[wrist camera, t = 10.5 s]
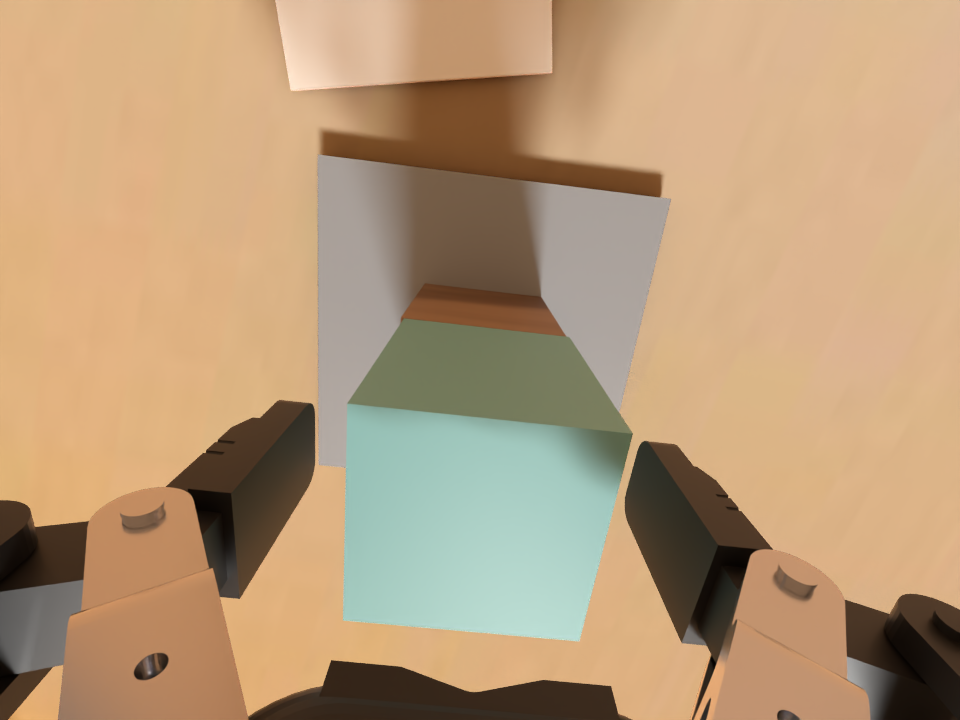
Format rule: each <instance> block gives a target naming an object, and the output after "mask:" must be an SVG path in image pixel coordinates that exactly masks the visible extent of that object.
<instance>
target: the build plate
mask: <svg viewBox="0 0 960 720" xmlns="http://www.w3.org/2000/svg"><path fill="white" fill-rule="evenodd" d="M670 201H671V199H667V198H659V197H651V196H643V195H635V194H628V193H620V192H612V191H604V190H596V189H588V188H580V187H572V186H564V185H556V184H548V183H540V182H532V181H524V180H516V179H509V178H501V177H493V176H485V175H477V174H469V173H461V172H453V171H445V170H437V169H429V168H421V167H413V166H405V165H397V164H389V163H382V162H374V161H366V160H358V159H350V158H342V157H334V156H326V155H318V386H319V465H324V466H334V467H344V468H346V441H347V403H348V402H349V400H350V399H351V397H352V396H353V394H354V393H355V391H356V390H357V388H358V387H359V385H360V384H361V382H362V381H363V379H364V378H365V376H366V375H367V373H368V372H369V370H370V369H371V367H372V366H373V364H374V363H375V361H376V360H377V358H378V357H379V355H380V354H381V352H382V351H383V349H384V348H385V346H386V345H387V343H388V342H389V340H390V339H391V337H392V336H393V334H394V333H395V331H396V330H397V328H398V327H399V325H400V323H401V317H402V315H403V314H404V312H405V311H406V309H407V308H408V307H409V305H410V304H411V302H412V301H413V300H414V298H415V297H416V295H417V294H418V292H419V291H420V290H421V288H422V287H423V285H424V284H425V283H426V284H435V285H444V286H452V287H461V288H469V289H478V290H486V291H495V292H503V293H512V294H521V295H529V296H538V297H542V299H543V300H544V302H545V304H546V305H547V307H548V308H549V310H550V311H551V313H552V315H553V316H554V318H555V319H556V321H557V323H558V324H559V326H560V327H561V329H562V330H563V332H564V334H565V335H566V337H570V339H571V340H572V342H573V343H574V345H575V346H576V348H577V349H578V351H579V352H580V354H581V355H582V357H583V358H584V360H585V361H586V363H587V365H588V366H589V368H590V369H591V371H592V372H593V374H594V375H595V377H596V378H597V380H598V381H599V383H600V384H601V386H602V387H603V389H604V391H605V392H606V394H607V395H608V397H609V398H610V400H611V401H612V403H613V404H614V406H615V407H616V409H617V410H618V412H619V411H620V407H621V403H622V399H623V395H624V390H625V386H626V382H627V378H628V374H629V370H630V366H631V362H632V358H633V353H634V349H635V345H636V341H637V337H638V333H639V329H640V325H641V321H642V316H643V312H644V308H645V304H646V300H647V296H648V292H649V288H650V284H651V279H652V275H653V271H654V267H655V263H656V259H657V255H658V251H659V247H660V242H661V238H662V234H663V230H664V226H665V222H666V218H667V214H668V210H669V205H670Z"/></svg>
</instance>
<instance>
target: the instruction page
mask: <svg viewBox="0 0 960 720" xmlns="http://www.w3.org/2000/svg"><path fill="white" fill-rule="evenodd" d="M275 2H276V8H277V14H278V19H279V25H280V31H281V37H282V42H283V48H284V54H285V60H286V66H287V71H288V77H289V83H290V89H291V90H292V91H299V90H314V89H328V88H343V87H358V86H373V85H387V84H402V83H417V82H431V81H446V80H461V79H475V78H490V77H505V76H520V75H534V74H549V73H552V0H275Z"/></svg>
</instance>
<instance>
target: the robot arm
mask: <svg viewBox="0 0 960 720" xmlns="http://www.w3.org/2000/svg"><path fill="white" fill-rule="evenodd" d="M314 466H315V411H314V407H313V405H312V404H311V403H302V402H293V401H284V400H279V401H277V402H276V403H275V404H274V405H273V406H272V407H271V408H270V409H269V410H268V411H267V412H266V413H265V414H264V415H263V416H262V417H261V418H251V419H249V420H246V421H244V422H242V423H240V424H238V425H236V426H233V427H232V428H230V429H229V430H228V431H227V432H226V433H225V434H224V435H223V436H222V437H220V438H219V439H218V442H215V443H214V444H213V445H212V446H210V447H209V448H208V449H207V450H206V453H203V454H202V455H200V456H199V457H198V458H197V459H196V460H195V461H194V462H193V463H192V464H191V465H189V466H188V467H187V468H186V469H185V470H184V471H183V472H182V473H181V474H179V475H178V476H177V477H176V478H175V479H174V480H173V481H172V482H171V483H169V484H168V485H167V486H166V487H157V488H149V489H143V490H139V491H136V492H132V493H129V494H126V495H124V496H121V497H119V498H117V499H115V500H113V501H111V502H109V503H108V504H106V505H105V506H103V507H102V508H101V509H99V510H98V511H97V512H96V513H95V514H94V515H93V516H92V518H91V519H90V521H87V522H78V523H69V524H60V525H50V526H41V527H35V526H34V522H33V518H32V515H31V511H30V508H29V507H28V506H27V505H25V504H23V503H20V502H17V501H8V500H0V720H8V719H9V718H10V717H11V715H12V714H13V713H14V712H15V711H16V710H17V708H18V707H19V706H20V705H21V704H22V703H23V701H24V700H25V699H26V698H27V697H28V696H29V694H30V693H31V692H32V691H33V690H34V689H35V687H36V686H37V685H38V684H39V683H40V682H41V680H42V679H43V678H44V677H45V676H46V674H47V673H48V672H49V671H50V670H51V669H52V667H54V666H59V665H63V675H62V685H61V695H60V705H59V715H58V720H631V719H629V718H627V717H625V716H623V715H620V714H618V711H617V708H616V704H615V700H614V696H613V692H612V688H611V686H602V685H592V684H581V683H570V682H559V681H548V680H541V681H535V682H530V683H525V684H519V685H514V686H509V687H503V688H498V689H493V690H487V691H482V692H468V691H464V690H462V689H459V688H456V687H454V686H451V685H448V684H446V683H443V682H440V681H438V680H435V679H432V678H430V677H427V676H424V675H422V674H419V673H416V672H414V671H411V670H408V669H405V668H403V667H397V666H386V665H376V664H365V663H354V662H343V661H332V660H331V663H330V666H329V669H328V672H327V675H326V678H325V681H324V684H323V686H321V687H316V688H311V689H307V690H304V691H301V692H297V693H294V694H291V695H289V696H287V697H284V698H282V699H280V700H277V701H275V702H273V703H271V704H269V705H267V706H266V707H264V708H262V709H260V710H258V711H256V712H255V713H253V714H252V715H250V716H249V717H248V715H247V711H246V706H245V702H244V698H243V694H242V689H241V685H240V681H239V677H238V672H237V668H236V664H235V660H234V655H233V651H232V647H231V643H230V638H229V634H228V630H227V626H226V621H225V617H224V613H223V609H222V604H221V600H220V597H227V598H238V599H240V597H241V596H242V594H243V593H244V591H245V589H246V588H247V586H248V584H249V583H250V581H251V580H252V578H253V576H254V575H255V573H256V571H257V570H258V568H259V566H260V565H261V563H262V562H263V560H264V558H265V557H266V555H267V553H268V552H269V550H270V549H271V547H272V545H273V544H274V542H275V540H276V539H277V537H278V535H279V534H280V532H281V531H282V529H283V527H284V526H285V524H286V522H287V521H288V519H289V518H290V516H291V514H292V513H293V511H294V509H295V508H296V506H297V504H298V503H299V501H300V500H301V498H302V496H303V495H304V493H305V491H306V490H307V488H308V486H309V484H310V482H311V479H312V476H313V472H314ZM625 514H626V518H627V521H628V524H629V526H630V528H631V530H632V533H633V535H634V537H635V539H636V542H637V544H638V546H639V548H640V551H641V553H642V555H643V557H644V560H645V562H646V564H647V566H648V568H649V571H650V573H651V575H652V577H653V580H654V582H655V584H656V586H657V589H658V591H659V593H660V595H661V598H662V600H663V602H664V604H665V607H666V609H667V611H668V613H669V616H670V618H671V620H672V622H673V624H674V627H675V629H676V631H677V633H678V636H679V638H680V640H681V642H682V643H686V644H697V645H707V647H708V649H709V651H710V653H711V655H710V657H709V660H708V662H707V664H706V667H705V670H704V674H703V677H702V680H701V683H700V687H699V690H698V693H697V697H696V700H695V703H694V706H693V710H692V713H691V716H690V720H960V610H959V609H957V608H955V607H953V606H951V605H949V604H946V603H944V602H942V601H939V600H936V599H934V598H930V597H927V596H923V595H918V594H905V595H902V596H901V597H900V598H899V599H898V601H897V602H896V604H895V606H894V608H893V609H892V611H891V613H890V614H887V613H884V612H881V611H878V610H875V609H872V608H869V607H866V606H863V605H860V604H857V603H853V602H850V601H847V600H844V597H843V595H842V593H841V591H840V590H839V588H838V587H837V586H836V585H835V584H834V582H833V581H832V580H831V579H829V578H828V577H827V576H826V575H825V574H824V573H822V572H821V571H820V570H818V569H817V568H815V567H814V566H812V565H811V564H809V563H807V562H806V561H804V560H802V559H800V558H798V557H795V556H793V555H790V554H787V553H784V552H781V551H777V550H773V549H772V548H771V547H770V545H769V544H768V543H767V542H766V541H765V539H764V538H763V537H762V536H761V534H760V533H759V532H758V531H757V530H756V528H755V527H754V526H753V525H752V524H751V522H750V521H749V520H748V519H747V518H746V516H745V515H744V514H743V513H742V512H741V511H739V510H738V507H737V505H736V504H735V503H734V502H733V501H732V499H731V498H728V495H727V493H726V492H725V491H724V490H723V489H722V487H721V486H720V485H719V484H718V482H717V481H716V480H714V479H713V478H712V477H710V476H709V475H707V474H706V473H705V472H703V471H702V470H701V469H699V468H698V467H694V466H693V465H692V464H691V462H690V461H689V460H688V459H687V457H686V456H685V455H684V453H683V452H682V451H681V450H680V448H679V447H678V446H677V445H675V444H667V443H658V442H649V441H644V442H642V443H641V444H640V446H639V448H638V451H637V455H636V459H635V462H634V466H633V470H632V474H631V477H630V481H629V485H628V488H627V492H626V496H625Z"/></svg>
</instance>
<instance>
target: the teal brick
mask: <svg viewBox="0 0 960 720" xmlns="http://www.w3.org/2000/svg"><path fill="white" fill-rule="evenodd" d="M632 435H633V433H632V432H631V430H630V429H629V427H628V426H627V424H626V423H625V421H624V420H623V418H622V417H621V415H620V413H619V412H618V410H617V409H616V407H615V406H614V404H613V403H612V401H611V400H610V398H609V397H608V395H607V394H606V392H605V391H604V389H603V387H602V386H601V384H600V383H599V381H598V380H597V378H596V377H595V375H594V374H593V372H592V371H591V369H590V368H589V366H588V365H587V363H586V361H585V360H584V358H583V357H582V355H581V354H580V352H579V351H578V349H577V348H576V346H575V345H574V343H573V342H572V340H571V339H570V337H565V336H556V335H547V334H538V333H530V332H521V331H512V330H503V329H494V328H485V327H476V326H467V325H459V324H450V323H441V322H432V321H423V320H414V319H405V318H404V319H403V321H402V322H401V324H400V325H399V327H398V328H397V330H396V331H395V333H394V334H393V336H392V337H391V339H390V340H389V342H388V343H387V345H386V346H385V348H384V349H383V351H382V352H381V354H380V355H379V357H378V358H377V360H376V361H375V363H374V364H373V366H372V367H371V369H370V370H369V372H368V373H367V375H366V376H365V378H364V379H363V381H362V382H361V384H360V385H359V387H358V388H357V390H356V391H355V393H354V394H353V396H352V397H351V399H350V400H349V402H348V403H347V441H346V494H345V548H344V601H343V620H344V621H356V622H367V623H378V624H390V625H401V626H412V627H423V628H435V629H446V630H457V631H468V632H480V633H491V634H502V635H514V636H525V637H536V638H547V639H559V640H570V641H579V640H580V637H581V633H582V629H583V625H584V621H585V617H586V613H587V609H588V605H589V602H590V598H591V594H592V590H593V586H594V582H595V578H596V574H597V571H598V567H599V563H600V559H601V555H602V551H603V547H604V543H605V539H606V536H607V532H608V528H609V524H610V520H611V516H612V512H613V508H614V504H615V501H616V497H617V493H618V489H619V485H620V481H621V477H622V473H623V470H624V466H625V462H626V458H627V454H628V450H629V446H630V442H631V438H632Z"/></svg>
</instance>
